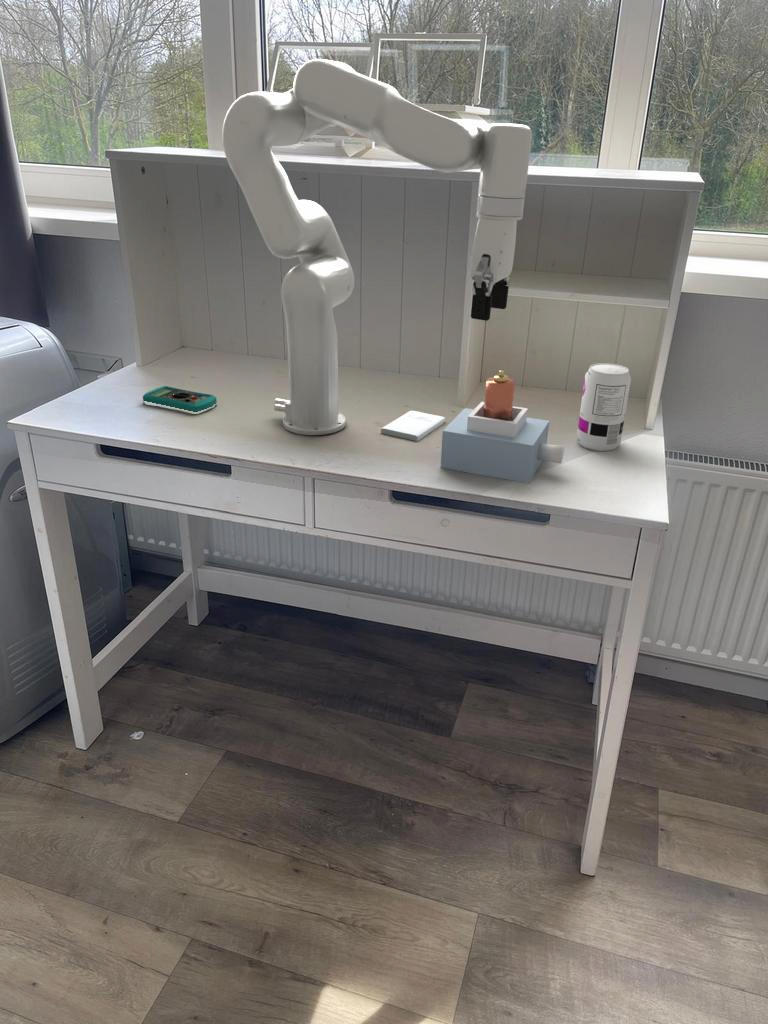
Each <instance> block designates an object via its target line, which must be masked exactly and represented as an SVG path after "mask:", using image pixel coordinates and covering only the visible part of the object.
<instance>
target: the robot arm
mask: <svg viewBox="0 0 768 1024" xmlns="http://www.w3.org/2000/svg"><path fill="white" fill-rule="evenodd" d="M334 125H335V126H337V127H340V128H342V129H345V130H347V131H349V132H352V133H354V134H356V135H359V136H361V137H364V138H366V139H369V140H371V141H373V142H375V143H376V144H377V145H379V146H381V147H383V148H384V149H385V148H386V149H388V150H389V151H390V152H392V153H395V154H397V155H398V156H401V157H402V158H405V159H407V160H410V161H413V162H414V163H417V164H419V165H422V166H425V167H427V168H428V169H430V170H431V169H432V170H434V171H437V172H440V173H444V174H445V173H447V174H450V173H457V172H463V171H470V170H471V171H472V170H480V171H479V181H478V182H479V183H478V191H477V193H478V194H477V202H476V203H477V204H476V215H475V217H477V218H478V221H477V224H476V225H477V226H476V230H475V233H474V234H475V235H474V239H473V245H472V253H471V261H470V266H469V267H470V268H469V278H470V280H471V281H473V282H472V286H473V289H472V300H471V310H470V318H471V319H473V320H478V321H479V320H480V321H485V322H486V321H489V320H490V318H491V311H492V309H499V310H506V308H507V306H508V305H507V304H508V297H509V296H508V295H509V289H510V288H509V287H510V286H509V284H510V275H511V273H512V270H513V266H514V259H515V258H514V257H515V252H516V251H515V249H516V240H517V239H516V238H517V231H518V230H517V224H518V223H517V222H518V221H521V220H523V216H524V205H525V197H526V190H527V184H528V183H527V181H528V172H529V165H530V157H531V148H532V140H533V133H532V129H531V128H530V127H529V126H528V125H526V124H519V123H507V122H496V123H486V122H481V121H477V120H472V119H462V118H461V119H460V118H449V117H446V116H444V115H441V114H438V113H436V112H433V111H432V110H428V109H427V108H423V107H421V106H419V105H417V104H415V103H412V102H410V101H409V100H407V99H405V98H403V96H402V95H400V94H399V92H398V90H397V89H396V88H395V87H394V86H392V85H390V84H388V83H385V82H383V81H379V80H377V79H375V78H371V77H369V76H366V75H364V74H361V73H359V72H357V71H356V70H355V69H354V68H352V66H350V65H348V64H347V63H344V62H342V61H335V60H329V59H324V58H315V59H314V58H313V59H310V60H308V61H306V62H305V63H303V64H302V65H301V66H300V67H299V68H298V69H297V72H296V73H295V76H294V80H293V88H291V89H289V90H288V91H285V92H272V91H270V92H269V91H253V92H252V91H251V92H249V93H246V94H243V95H240V96H239V97H238V98H237V99H236V100H235V101H234V102H233V103H232V104H231V105H230V107H229V109H228V110H227V111H226V115H225V118H224V120H223V126H222V131H221V132H222V147H223V151H224V154H225V157H226V160H227V163H228V165H229V168H230V169H231V171H232V173H233V175H234V177H235V179H236V181H237V182H238V185H239V187H240V188H241V192H242V193H243V196H244V198H245V200H246V203H247V206H248V207H249V210H250V212H251V214H252V217H253V218H254V221H255V223H256V225H257V227H258V230H259V232H260V234H261V237H262V239H263V240H264V243H265V245H266V248H267V249H268V250H269V251H270V252H271V254H272V255H274V256H275V257H277V258H279V259H282V260H283V259H284V260H285V259H286V260H287V259H294V258H297V257H298V259H299V261H300V263H298V264H297V265H295V266H293V267H292V268H291V269H290V270H289V271H288V272H287V273H286V275H285V276H284V278H283V280H282V283H281V290H280V293H281V301H282V302H281V303H282V304H281V305H282V308H283V312H284V317H285V325H286V326H285V327H286V338H287V358H288V359H287V360H288V384H289V385H288V386H289V400H288V399H285V398H280V397H279V398H278V397H276V398H275V399H274V407H273V408H274V409H273V410H274V411H275V412H284V414H285V416H284V417H283V419H282V425H283V427H284V429H285V430H287V431H288V432H291V433H294V434H299V435H304V436H323V435H329V434H334V433H337V432H340V431H342V429H344V428H345V427H346V424H347V418H346V416H345V415H343V414H342V413H340V412H339V374H338V373H339V369H338V368H339V367H338V366H339V364H338V362H339V361H338V359H339V358H338V357H339V355H338V353H339V351H338V350H339V349H338V331H337V326H336V322H335V318H334V313H333V312H334V311H333V308H335V307H337V306H338V305H341V304H342V303H344V302H345V301H347V300H348V299H349V298H350V296H351V295H352V293H353V291H354V288H355V274H354V271H353V267H352V265H351V262H350V259H349V257H348V256H347V253H346V250H345V248H344V245H343V243H342V241H341V239H340V236H339V234H338V232H337V229H336V227H335V223H334V222H333V220H332V218H331V216H330V215H329V213H328V212H327V211H326V210H325V208H323V207H322V206H321V205H320V204H318V202H315V201H314V200H313V201H312V200H308V199H299V197H297V195H296V192H295V191H294V189H293V186H292V184H291V182H290V179H289V176H288V175H287V173H286V171H285V169H284V167H283V166H282V165H281V163H280V161H278V159H277V157H275V155H274V153H273V151H272V150H273V149H272V147H285V146H286V147H287V146H294V145H296V144H299V143H302V142H303V141H305V140H307V139H309V138H311V137H313V136H315V135H316V134H318V133H320V132H322V131H324V130H325V129H328V128H329V127H331V126H334Z"/></svg>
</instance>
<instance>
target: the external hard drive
mask: <svg viewBox="0 0 768 1024" xmlns="http://www.w3.org/2000/svg"><path fill="white" fill-rule="evenodd" d="M445 423H446V417H445V416H441V415H436V414H431V413H426V412H422V411H416V410H409V411H407V412H406V413H405V414H403V415H401V416H399V417H398V418H396V419H395V420H393V421H391V422H389V423H388V424H386V425H385V426H383V427H381V428H380V434H384V435H388V436H392V437H397V438H401V439H404V440H405V439H407V440H409V441H410V440H411V441H415V442H419V441H421V440H422V439H423V438H425V437H426V436H428V435H429V434H430V433H432V432H433V431H435V430H436V429H437V428H439V427H440V426H442V425H443V424H445Z"/></svg>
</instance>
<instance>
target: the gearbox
mask: <svg viewBox="0 0 768 1024" xmlns="http://www.w3.org/2000/svg"><path fill="white" fill-rule="evenodd" d="M528 411H529V408H526V407H521V406H514V405H513V410H512V420H511V421H505V420H499V419H492V418H486V417H483V413H484V401H481V402H480V403H479V404H478V405H477V406H476V407H475V408H473V409H472V408H466V407H465V408H463V409H462V410H461V411H460V412H459V413H458V415H456V416H455V417H454V419H452V421H451V422H450V423H449V424H448V425H447V426H446V427H445V428H444V429H443V430H442V435H441V453H440V454H441V455H440V468H442V469H448V470H452V471H458V472H463V473H470V474H474V475H481V476H485V477H491V478H496V479H504V480H508V481H515V482H519V483H525V484H530V482H531V481H532V479H533V478H534V477H535V474H536V472H537V470H539V467H540V466H541V464H542V463H543V461H544V462H549V463H555V464H556V463H557V464H561V463H562V462H563V458H564V454H565V446H564V445H557V444H549V443H548V435H549V428H550V427H549V426H550V420H546V419H539V418H533V417H528V413H529V412H528Z"/></svg>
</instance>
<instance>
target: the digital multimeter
mask: <svg viewBox="0 0 768 1024" xmlns="http://www.w3.org/2000/svg"><path fill="white" fill-rule="evenodd" d="M173 394H174V395H173ZM142 399H143V400H142V401H147V402H152V403H156V404H161V405H166V406H170V407H175V408H179V409H184V410H188V411H193V412H198V411H201V410H204V409H207V408H209V407H212V406H213V405H214V404H216V403H218V401H217V396H215V395H214V394H208V393H202V392H196V391H190V390H186V389H181V388H176V387H171V386H167V385H163V386H160V387H157V388H154V389H152V390H149V391H148V392H145V393H144V394H143V395H142Z"/></svg>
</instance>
